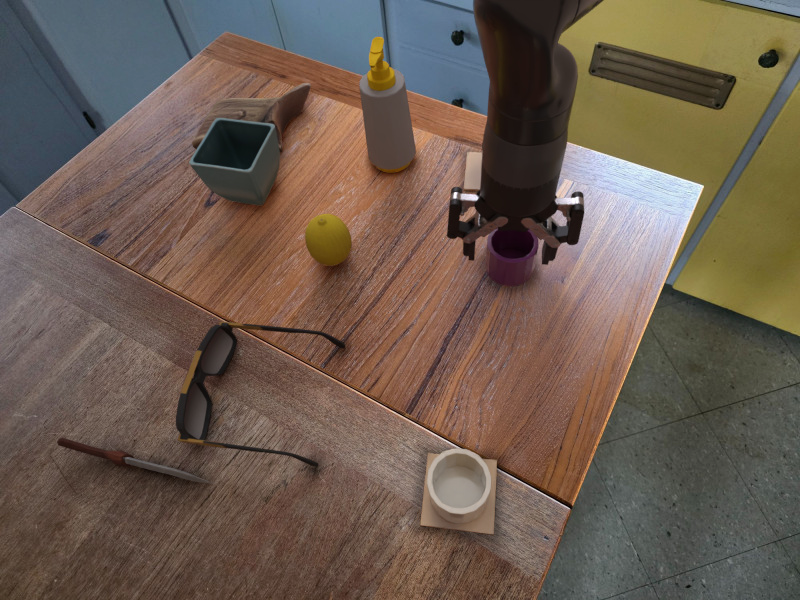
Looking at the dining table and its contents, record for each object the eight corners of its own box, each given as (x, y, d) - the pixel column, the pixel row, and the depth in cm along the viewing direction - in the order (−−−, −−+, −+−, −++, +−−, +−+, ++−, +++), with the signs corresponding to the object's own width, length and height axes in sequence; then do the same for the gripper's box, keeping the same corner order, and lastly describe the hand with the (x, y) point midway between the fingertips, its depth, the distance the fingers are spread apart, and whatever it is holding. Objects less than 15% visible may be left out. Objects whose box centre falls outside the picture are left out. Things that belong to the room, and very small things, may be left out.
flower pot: (293, 172, 80) (275, 123, 72) (271, 219, 75) (250, 172, 68) (238, 165, 81) (215, 116, 74) (213, 210, 77) (186, 163, 70)
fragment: (228, 104, 91) (216, 76, 87) (319, 104, 88) (311, 75, 84) (197, 157, 84) (182, 130, 80) (295, 159, 80) (284, 131, 76)
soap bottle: (365, 176, 78) (342, 64, 63) (373, 141, 81) (352, 27, 66) (413, 177, 77) (402, 64, 62) (419, 142, 80) (409, 26, 65)
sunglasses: (318, 467, 57) (307, 454, 53) (183, 449, 59) (162, 434, 55) (346, 347, 64) (338, 326, 60) (224, 334, 66) (208, 314, 62)
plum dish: (533, 248, 69) (538, 223, 64) (533, 288, 66) (538, 263, 62) (486, 246, 70) (488, 221, 65) (484, 285, 67) (485, 261, 62)
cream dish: (490, 465, 55) (492, 451, 51) (487, 527, 52) (489, 517, 48) (432, 459, 56) (430, 445, 52) (426, 519, 53) (423, 509, 49)
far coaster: (517, 154, 77) (517, 153, 77) (516, 192, 74) (516, 190, 74) (467, 153, 78) (467, 151, 78) (463, 190, 75) (463, 188, 75)
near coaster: (496, 460, 56) (497, 460, 55) (493, 534, 52) (493, 534, 52) (427, 453, 57) (427, 452, 57) (420, 525, 53) (420, 525, 53)
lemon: (305, 261, 71) (288, 221, 64) (336, 235, 73) (324, 194, 66) (333, 285, 69) (319, 246, 62) (365, 257, 70) (355, 217, 64)
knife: (222, 478, 57) (211, 471, 55) (216, 493, 57) (204, 487, 54) (73, 440, 61) (56, 431, 59) (66, 453, 60) (48, 445, 58)
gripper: (443, 183, 51) (445, 279, 65) (603, 188, 49) (570, 287, 63) (449, 126, 55) (450, 229, 69) (598, 130, 53) (568, 234, 67)
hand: (508, 256), depth 66 cm, fingers open, 8 cm apart
